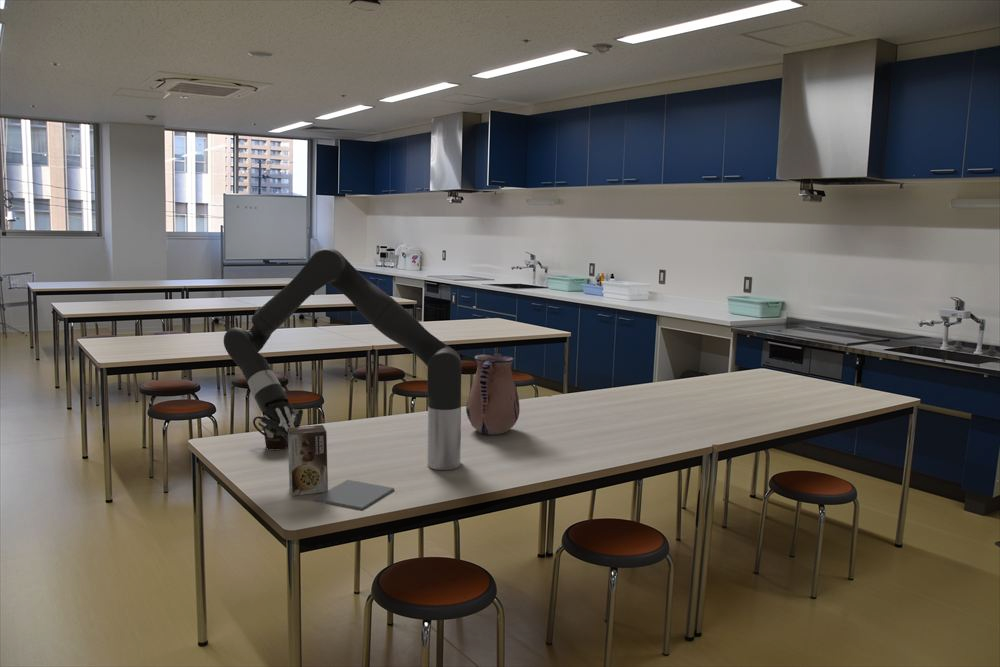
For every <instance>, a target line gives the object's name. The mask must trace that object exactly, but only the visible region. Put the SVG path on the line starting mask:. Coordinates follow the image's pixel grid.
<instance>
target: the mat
mask: <svg viewBox="0 0 1000 667" xmlns="http://www.w3.org/2000/svg"><path fill="white" fill-rule="evenodd" d="M393 490H394V491H395V488H394V487H391V486H386V485H379V484H374V483H373V484H372V483H368V482H363V481H362V482H361V481H356V480H351V479H346V480H345V481H343V482H341V483H339V484H337V485H335V486H333V487H331V488H330V489H328V491H326V492H323V493H319V495H316V496H315V497H313V498H312V499H313V500H314V502H318V501H320V502H319V503H323V502H325V504H328V503H331V504H330V505H333V504H336V505H335V506H339V505H341V506H340V507H344V506H346V507H345V508H349V507H352V508H351V509H355V508H357V509H356V510H360V509H363V510H364V508H365V507H366V508H367V506H368V507H369V506H371V505H373V504H374V503H376V502H377V501H379V500H381V499H382V498H383V496H384V497H385V495H386V496H387V495H389V494H390V493H392V492H394V491H393ZM391 491H392V492H391ZM388 493H389V494H388ZM381 497H382V498H381ZM380 498H381V499H380ZM378 499H379V500H378ZM375 501H376V502H375ZM373 502H374V503H373ZM372 503H373V504H372ZM370 504H371V505H370ZM366 508H365V509H366Z"/></svg>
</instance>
